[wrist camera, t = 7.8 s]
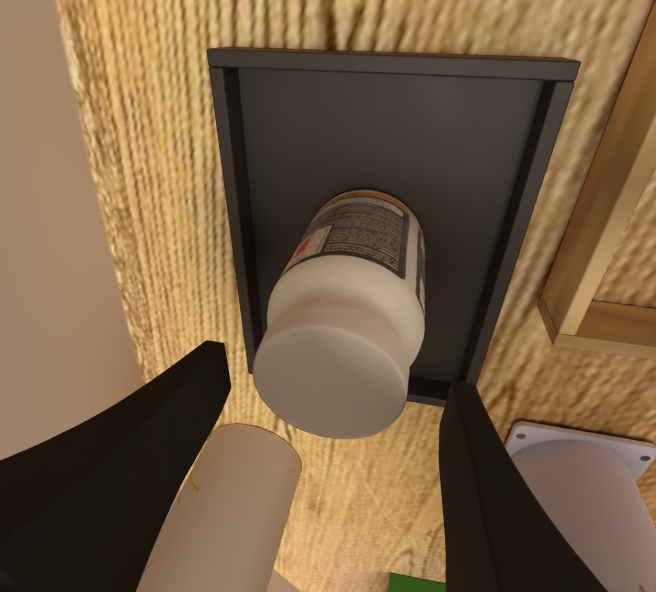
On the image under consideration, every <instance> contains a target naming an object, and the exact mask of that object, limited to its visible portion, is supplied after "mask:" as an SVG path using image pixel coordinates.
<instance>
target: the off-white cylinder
mask: <svg viewBox="0 0 656 592" xmlns="http://www.w3.org/2000/svg"><path fill="white" fill-rule="evenodd" d="M301 469H302V465H301V460H300V458H299V456H298V454H297V453H296V451H295V450H294V449H293V448H292V447H291V446H290V445H289V444H288V443H287V442H286V441H285V440H283V439H282V438H280V437H279V436H277V435H275V434H273V433H271V432H269V431H267V430H265V429H262V428H259V427H255V426H251V425H245V424H230V425H225V426H222V427H219V428H218V429H216V430H215V431H214V432H213V433H212V434H211V436H210V438H209V439H208V441H207V443H206V445H205V447H204V449H203V451H202V452H201V454H200V456H199V458H198V460H197V462H196V464H195V466H194V467H193V469H192V471H191V473H190V475H189V477H188V479H187V480H186V482H185V484H184V486H183V488H182V490H181V492H180V494H179V495H178V497H177V499H176V501H175V503H174V505H173V507H172V509H171V510H170V512H169V514H168V516H167V518H166V520H165V522H164V524H163V526H162V528H161V531H160V533H159V535H158V538H157V540H156V542H155V545H154V547H153V550H152V552H151V554H150V557H149V560H148V562H147V565H146V567H145V570H144V572H143V575H142V577H141V580H140V582H139V585H138V588H137V590H136V592H266V591H267V588H268V584H269V581H270V577H271V574H272V570H273V567H274V563H275V560H276V557H277V553H278V550H279V546H280V543H281V539H282V536H283V532H284V529H285V525H286V522H287V518H288V515H289V511H290V508H291V504H292V501H293V497H294V494H295V490H296V487H297V484H298V480H299V477H300V473H301Z"/></svg>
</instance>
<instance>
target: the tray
mask: <svg viewBox="0 0 656 592" xmlns="http://www.w3.org/2000/svg"><path fill="white" fill-rule="evenodd" d="M207 56H208V64H209V66H210V67H209V72H210V80H211V87H212V95H213V103H214V110H215V118H216V126H217V133H218V141H219V149H220V156H221V164H222V172H223V180H224V187H225V195H226V203H227V210H228V218H229V226H230V233H231V241H232V249H233V257H234V264H235V272H236V280H237V287H238V295H239V303H240V310H241V318H242V326H243V333H244V341H245V349H246V357H247V364H248V372H249V374H253V363H254V359H255V355H256V353H257V350H258V348H259V346H260V344H261V341H262V339H263V337H264V335H265V333H266V331H267V329H268V324H267V312H268V304H269V299H270V296H271V294H272V291H273V289H274V287H275V285H276V283H277V282H278V280H279V278H280V277H281V275H282V273H283V272H284V270H285V268H286V267H287V265H288V263H289V262H290V260H291V258H292V256H293V254H294V253H295V251H296V249H297V247H298V245H299V243H300V242H301V240H302V238H303V236H304V234H305V233H306V231H307V229H308V227H309V225H310V224H311V222H312V220H313V219H314V217H315V216H316V214H317V213H318V211H319V210H320V209H321V208H322V207H323V206H324V205H325V204H326V203H327V202H328V201H330V200H331V199H333V198H335V197H336V196H338V195H340V194H343V193H346V192H350V191H356V190H374V191H378V192H381V193H385V194H388V195H390V196H392V197H394V198H396V199H398V200H399V201H400V202H402V203H403V204H404V205H405V206H406V207H408V208H409V209H410V211H411V212H412V213H413V214H414V216H415V217H416V219H417V220H418V223H419V225H420V228H421V230H422V233H423V238H424V245H425V284H424V294H425V301H424V305H425V331H424V338H423V341H422V344H421V347H420V350H419V352H418V354H417V356H416V358H415V360H414V361H413V363H412V364H411V366H410V367H409V380H408V391H407V399H406V401H410V402H416V403H422V404H428V405H434V406H439V407H445V404H446V401H447V397H448V393H449V390H450V386H451V382H452V381H459V382H465V383H471V384H474V385H475V386H476V384H477V381H478V378H479V375H480V372H481V369H482V366H483V363H484V360H485V357H486V354H487V351H488V348H489V345H490V341H491V338H492V335H493V332H494V329H495V326H496V323H497V320H498V317H499V314H500V311H501V308H502V305H503V302H504V299H505V295H506V292H507V289H508V286H509V283H510V280H511V277H512V274H513V271H514V268H515V265H516V262H517V259H518V256H519V252H520V249H521V246H522V243H523V240H524V237H525V234H526V231H527V228H528V225H529V222H530V219H531V216H532V213H533V210H534V206H535V203H536V200H537V197H538V194H539V191H540V188H541V185H542V182H543V179H544V176H545V173H546V170H547V167H548V163H549V160H550V157H551V154H552V151H553V148H554V145H555V142H556V139H557V136H558V133H559V130H560V127H561V124H562V120H563V117H564V114H565V111H566V108H567V105H568V102H569V99H570V96H571V93H572V90H573V87H574V82H573V81H575V80H576V77H577V74H578V71H579V68H580V65H581V62H580V61H577V60H572V59H568V58H560V57H529V56H498V55H467V54H436V53H405V52H374V51H343V50H312V49H281V48H250V47H221V48H209V49H207Z"/></svg>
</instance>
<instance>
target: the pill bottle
mask: <svg viewBox="0 0 656 592" xmlns="http://www.w3.org/2000/svg"><path fill="white" fill-rule="evenodd" d="M424 284H425V245H424V238H423V233H422V230H421V228H420V225H419V223H418V220H417V219H416V217H415V216H414V214H413V213H412V212H411V211H410V209H409V208H408V207H406V206H405V205H404V204H403V203H402V202H400V201H399V200H398V199H396V198H394V197H392V196H390V195H388V194H385V193H381V192H378V191H374V190H356V191H350V192H346V193H343V194H340V195H338V196H336V197H335V198H333V199H331V200H330V201H328V202H327V203H326V204H325V205H324V206H323V207H322V208H321V209H320V210H319V211H318V213H317V214H316V216H315V217H314V219H313V220H312V222H311V224H310V225H309V227H308V229H307V231H306V233H305V234H304V236H303V238H302V240H301V242H300V243H299V245H298V247H297V249H296V251H295V253H294V254H293V256H292V258H291V260H290V262H289V263H288V265H287V267H286V268H285V270H284V272H283V273H282V275H281V277H280V278H279V280H278V282H277V283H276V285H275V287H274V289H273V291H272V294H271V296H270V299H269V304H268V312H267V324H268V329H267V331H266V333H265V335H264V337H263V339H262V341H261V344H260V346H259V348H258V350H257V353H256V355H255V359H254V363H253V380H254V384H255V387H256V389H257V391H258V393H259V395H260V397H261V398H262V400H263V401H264V403H265V404H266V405H267V406H268V407H269V408H270V409H271V410H272V411H273V412H274V413H275V414H276V415H277V416H278V417H280V418H281V419H283V420H284V421H286V422H287V423H289V424H291V425H293V426H294V427H296V428H298V429H300V430H303V431H305V432H308V433H311V434H314V435H317V436H321V437H327V438H334V439H356V438H362V437H367V436H371V435H374V434H376V433H378V432H381V431H382V430H384V429H386V428H387V427H389V426H390V425H391V424H392V423H394V422H395V420H396V419H397V418H398V417H399V416H400V414H401V412H402V411H403V409H404V406H405V403H406V399H407V391H408V380H409V367H410V366H411V364H412V363H413V361H414V360H415V358H416V356H417V354H418V352H419V350H420V347H421V344H422V341H423V338H424V331H425V305H424V301H425V294H424Z"/></svg>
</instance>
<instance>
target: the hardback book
mask: <svg viewBox="0 0 656 592" xmlns="http://www.w3.org/2000/svg"><path fill="white" fill-rule="evenodd" d="M388 592H446V584H443V583H438V582H433V581H428V580H423V579H418V578H413V577H408V576H403V575H398V574H393V573H390V577H389V591H388Z"/></svg>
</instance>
